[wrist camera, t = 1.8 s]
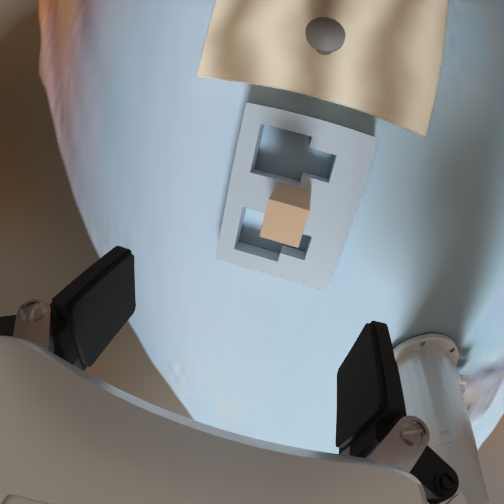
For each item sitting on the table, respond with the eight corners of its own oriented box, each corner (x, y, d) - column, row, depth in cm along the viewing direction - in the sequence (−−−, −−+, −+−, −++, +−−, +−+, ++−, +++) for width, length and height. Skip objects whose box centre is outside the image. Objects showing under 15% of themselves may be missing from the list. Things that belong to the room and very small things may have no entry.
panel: (374, 137, 24) (396, 143, 16) (325, 281, 31) (325, 328, 24) (250, 103, 25) (225, 96, 18) (221, 250, 32) (194, 288, 25)
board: (444, -7, 14) (464, -26, 9) (421, 135, 22) (444, 139, 17) (240, -57, 16) (225, -82, 11) (201, 77, 24) (176, 69, 19)
